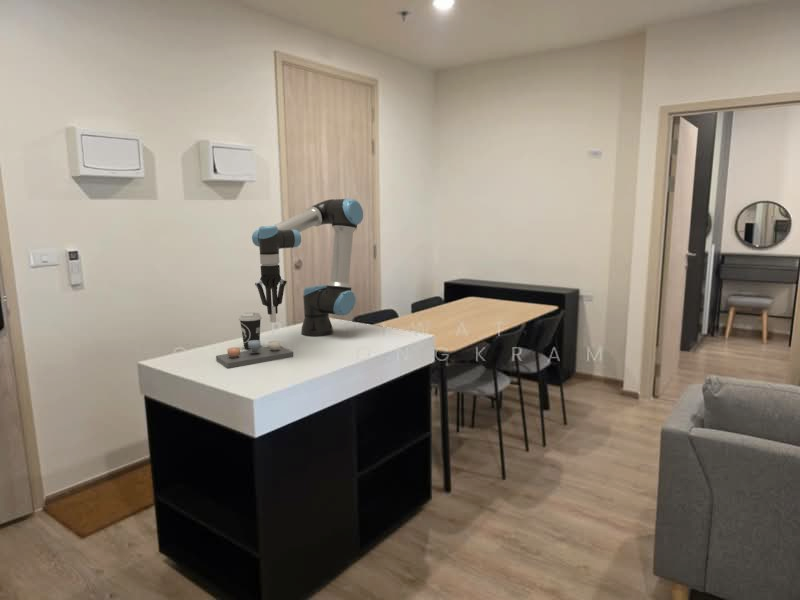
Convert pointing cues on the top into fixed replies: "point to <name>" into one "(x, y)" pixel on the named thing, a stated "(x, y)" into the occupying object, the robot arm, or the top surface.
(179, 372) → the top surface
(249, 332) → the coffee cup
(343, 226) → the robot arm
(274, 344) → the button cream
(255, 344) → the button blue
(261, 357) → the panel
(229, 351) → the button terracotta
